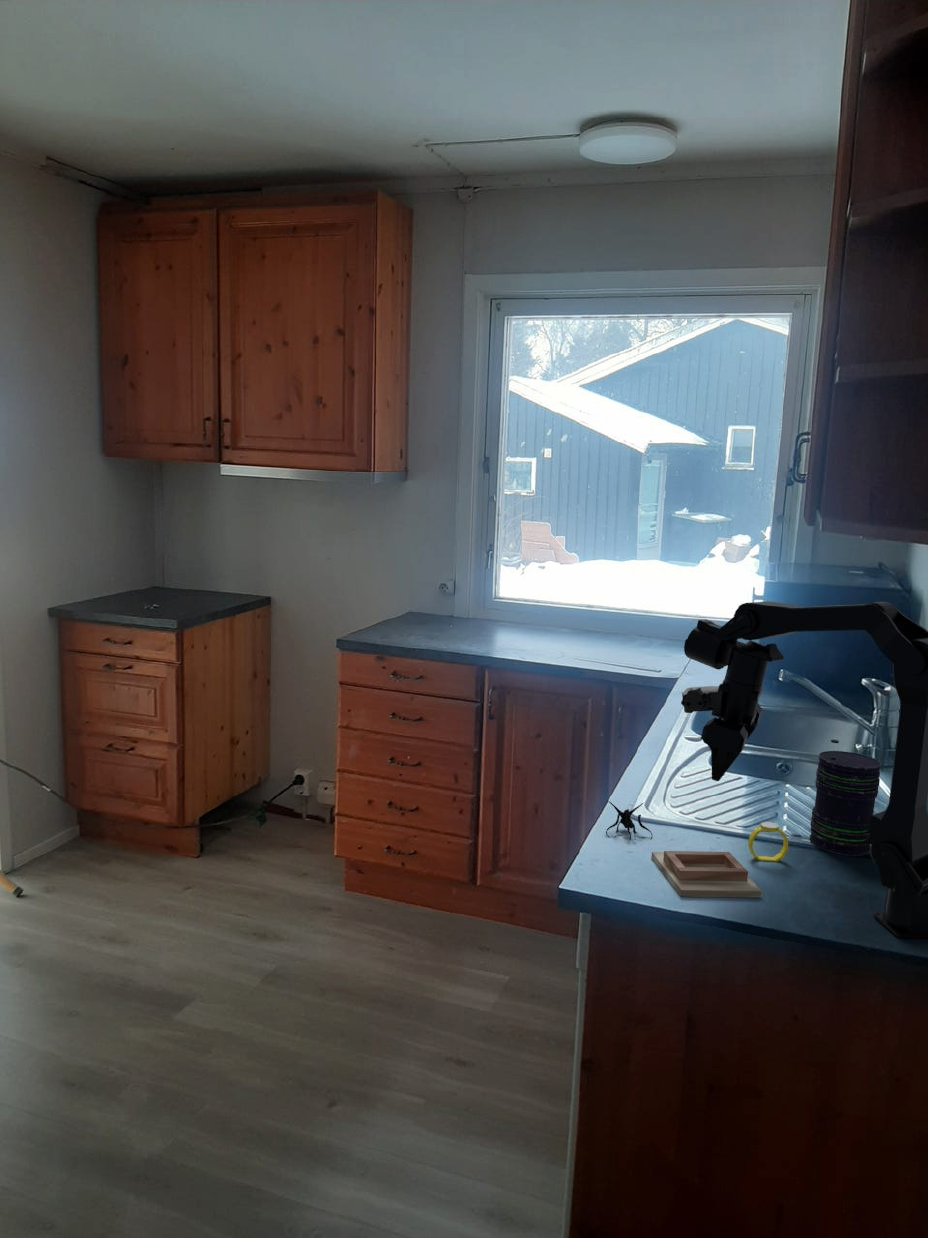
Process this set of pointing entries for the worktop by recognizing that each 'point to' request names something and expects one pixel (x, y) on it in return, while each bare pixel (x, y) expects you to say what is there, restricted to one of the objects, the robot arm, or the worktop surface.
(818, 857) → the worktop surface
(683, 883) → the wooden framed tray
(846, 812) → the dark purple barrel
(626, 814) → the creature
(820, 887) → the worktop surface
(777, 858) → the watch
